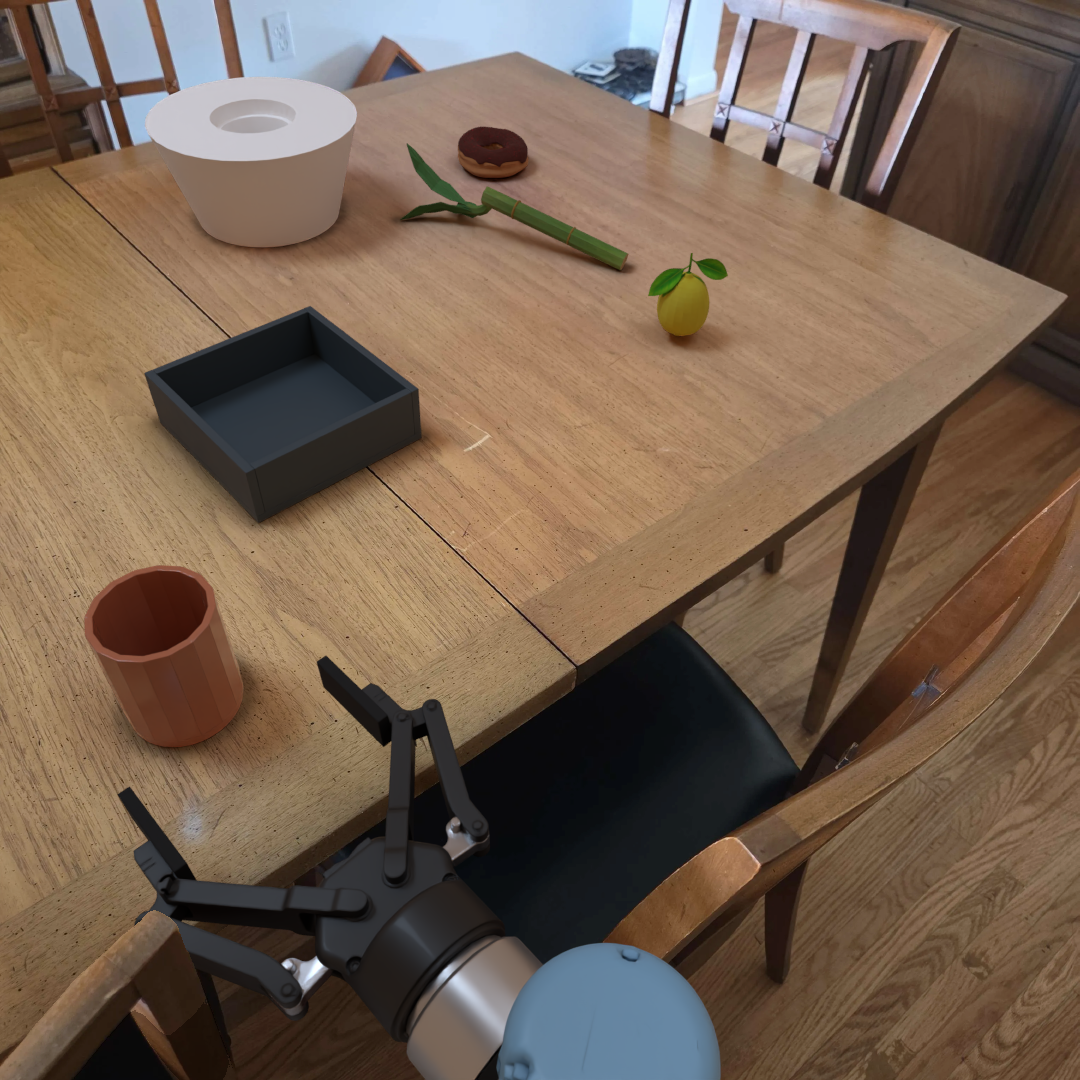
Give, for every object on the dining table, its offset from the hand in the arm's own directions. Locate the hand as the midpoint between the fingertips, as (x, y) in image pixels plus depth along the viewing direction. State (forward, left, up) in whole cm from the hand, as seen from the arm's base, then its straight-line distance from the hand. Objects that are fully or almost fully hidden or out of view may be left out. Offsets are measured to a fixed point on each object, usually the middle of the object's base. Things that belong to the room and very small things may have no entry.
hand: (233, 732), depth 57 cm
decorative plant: (+63, +44, -7) cm, 77 cm away
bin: (+22, +30, -7) cm, 38 cm away
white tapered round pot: (+43, +68, -7) cm, 81 cm away
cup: (0, +9, -7) cm, 12 cm away
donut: (+74, +61, -7) cm, 96 cm away
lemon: (+63, +17, -7) cm, 66 cm away
